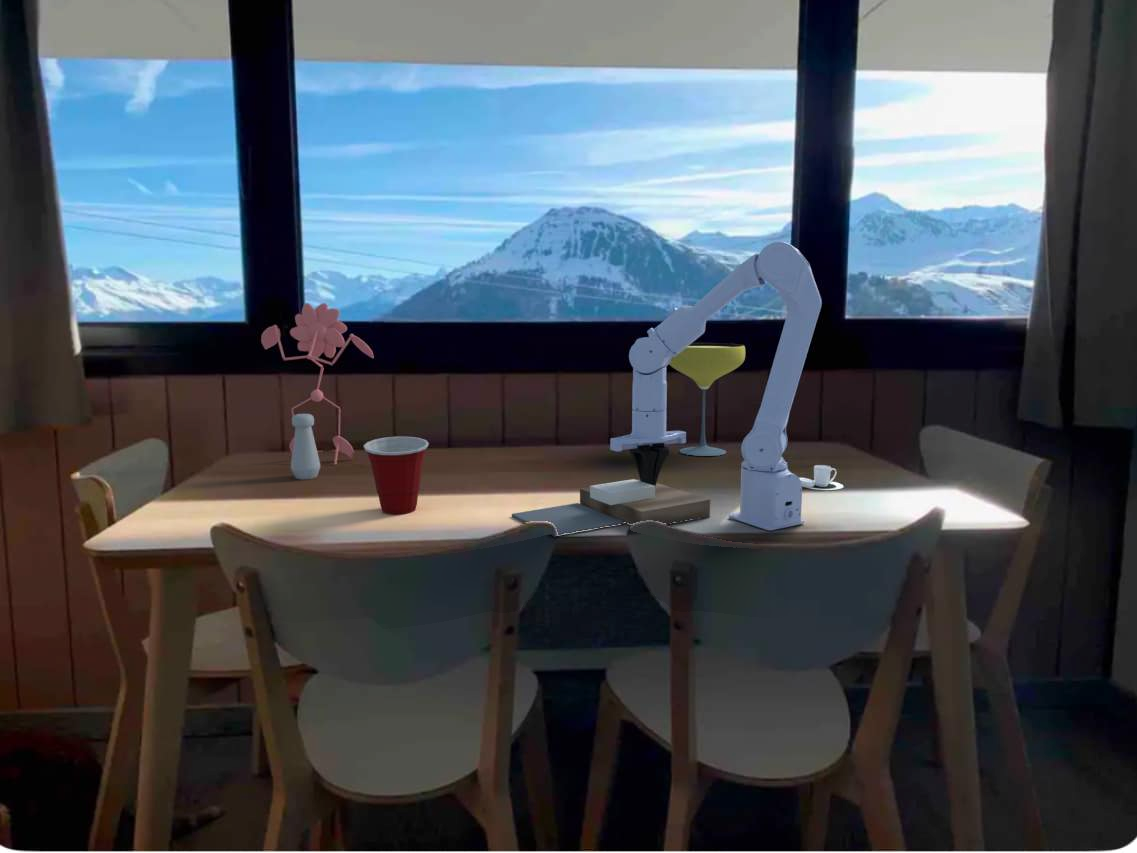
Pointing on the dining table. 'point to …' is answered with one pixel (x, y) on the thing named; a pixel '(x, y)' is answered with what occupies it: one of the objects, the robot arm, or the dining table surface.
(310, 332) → the figurine
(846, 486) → the dining table surface
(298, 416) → the salt shaker
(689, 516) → the deck
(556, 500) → the dining table surface
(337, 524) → the dining table surface
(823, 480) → the teacup and saucer
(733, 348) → the cocktail glass
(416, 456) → the plastic cup
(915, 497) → the dining table surface
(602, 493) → the pale grey flat block
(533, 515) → the mat
